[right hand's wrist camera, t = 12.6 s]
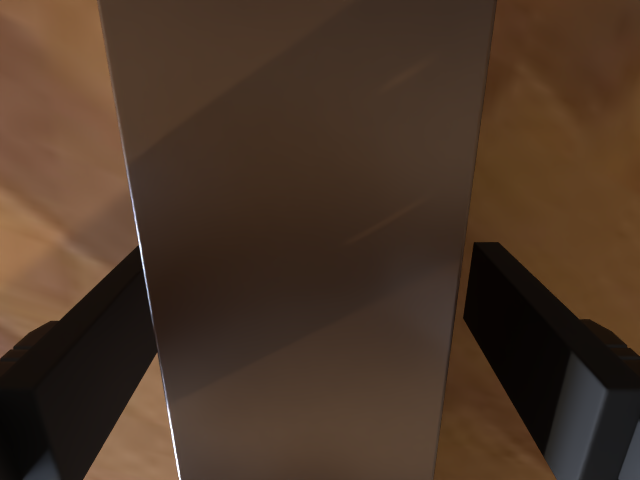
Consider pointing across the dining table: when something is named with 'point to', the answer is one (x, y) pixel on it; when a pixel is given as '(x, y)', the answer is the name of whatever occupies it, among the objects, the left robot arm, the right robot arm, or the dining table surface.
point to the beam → (301, 222)
